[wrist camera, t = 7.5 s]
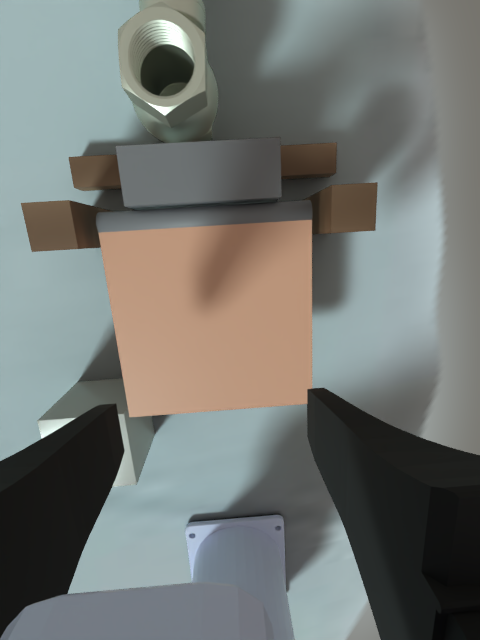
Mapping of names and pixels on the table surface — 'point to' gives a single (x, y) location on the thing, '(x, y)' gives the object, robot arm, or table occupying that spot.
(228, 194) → the trapdoor
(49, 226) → the frame
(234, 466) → the table surface
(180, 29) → the valve
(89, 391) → the stone block
